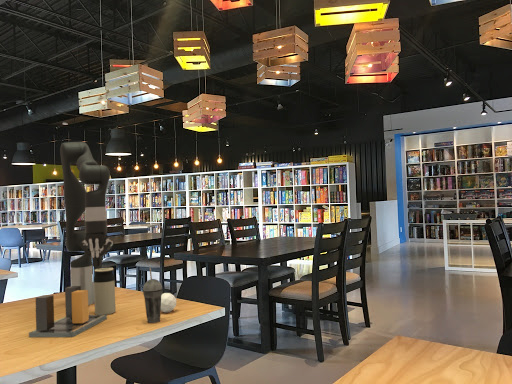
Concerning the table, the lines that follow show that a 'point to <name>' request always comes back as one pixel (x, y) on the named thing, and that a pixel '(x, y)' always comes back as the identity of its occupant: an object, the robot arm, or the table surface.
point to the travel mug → (104, 291)
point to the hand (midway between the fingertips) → (97, 267)
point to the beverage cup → (152, 299)
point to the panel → (63, 325)
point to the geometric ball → (167, 302)
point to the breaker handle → (80, 306)
